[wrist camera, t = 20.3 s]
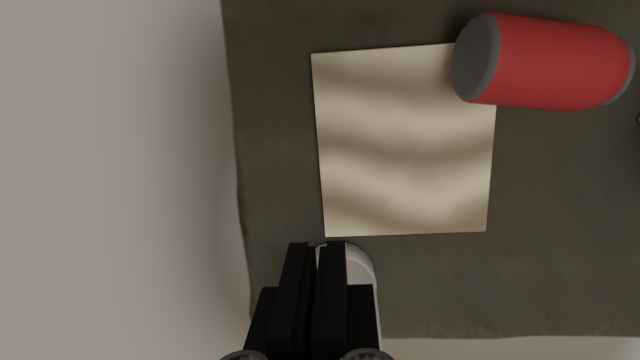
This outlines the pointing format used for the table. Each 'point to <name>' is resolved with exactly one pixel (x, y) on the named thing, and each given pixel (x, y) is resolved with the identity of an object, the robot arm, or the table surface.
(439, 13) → the table surface
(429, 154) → the birch board
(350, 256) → the bottle
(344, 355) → the robot arm
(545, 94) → the beer can
